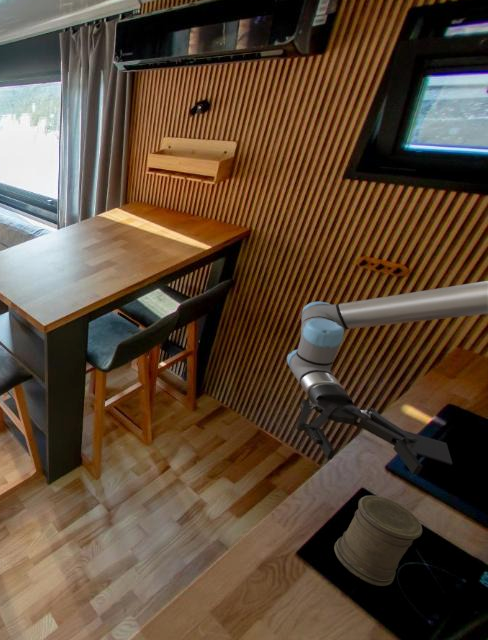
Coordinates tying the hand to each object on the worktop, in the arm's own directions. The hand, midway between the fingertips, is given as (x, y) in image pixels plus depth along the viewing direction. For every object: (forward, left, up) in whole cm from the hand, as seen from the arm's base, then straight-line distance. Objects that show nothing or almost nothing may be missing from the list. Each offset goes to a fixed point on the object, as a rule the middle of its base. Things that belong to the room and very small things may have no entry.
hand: (373, 462), depth 78 cm
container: (-3, +8, -23) cm, 24 cm away
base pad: (-16, -38, -23) cm, 47 cm away
